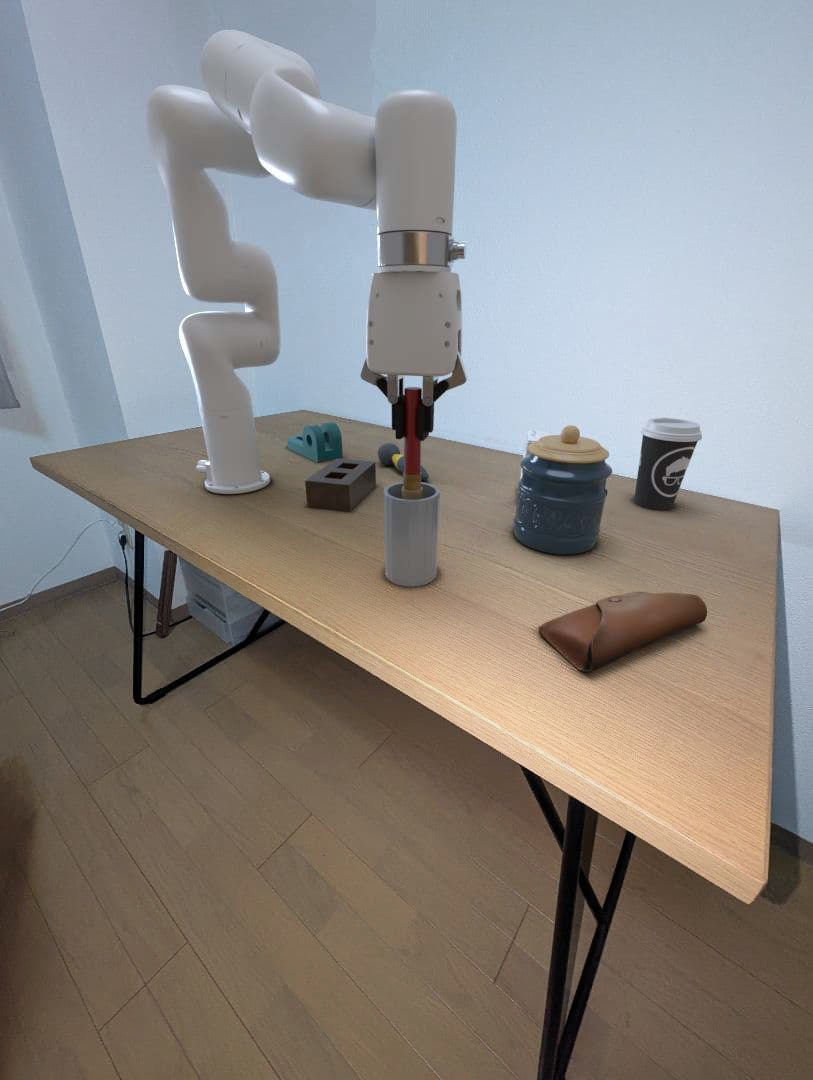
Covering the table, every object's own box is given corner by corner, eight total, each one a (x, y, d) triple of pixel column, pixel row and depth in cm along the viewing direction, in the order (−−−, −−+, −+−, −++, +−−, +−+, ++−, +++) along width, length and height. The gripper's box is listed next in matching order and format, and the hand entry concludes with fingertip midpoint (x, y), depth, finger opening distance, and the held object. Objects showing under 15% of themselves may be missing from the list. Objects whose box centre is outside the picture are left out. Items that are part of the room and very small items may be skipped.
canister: (526, 514, 83) (539, 413, 75) (604, 531, 77) (627, 422, 69) (500, 543, 73) (512, 429, 65) (587, 564, 67) (612, 441, 59)
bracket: (342, 457, 113) (340, 424, 110) (317, 462, 109) (315, 428, 106) (307, 442, 126) (304, 412, 122) (283, 446, 122) (280, 415, 118)
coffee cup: (680, 499, 90) (702, 419, 83) (683, 517, 82) (708, 431, 75) (626, 491, 93) (643, 414, 87) (624, 508, 86) (642, 425, 79)
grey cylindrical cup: (378, 582, 62) (376, 497, 57) (393, 558, 68) (393, 479, 63) (430, 590, 61) (433, 503, 55) (440, 564, 67) (444, 484, 61)
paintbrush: (441, 479, 99) (441, 456, 97) (422, 484, 96) (423, 461, 94) (386, 458, 113) (385, 437, 111) (368, 462, 110) (368, 441, 108)
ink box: (545, 506, 86) (555, 442, 81) (517, 504, 87) (525, 440, 82) (544, 490, 94) (552, 431, 88) (518, 488, 95) (525, 429, 89)
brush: (399, 519, 60) (399, 389, 53) (404, 512, 62) (405, 386, 55) (419, 522, 59) (421, 390, 52) (423, 514, 62) (426, 387, 54)
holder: (307, 506, 86) (304, 480, 83) (337, 481, 98) (336, 458, 96) (350, 511, 84) (349, 485, 81) (376, 485, 96) (375, 461, 94)
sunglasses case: (640, 588, 60) (677, 560, 55) (676, 637, 57) (719, 613, 52) (532, 628, 53) (562, 600, 47) (566, 687, 49) (603, 665, 44)
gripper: (496, 259, 49) (483, 434, 57) (354, 262, 53) (360, 426, 61) (488, 252, 43) (474, 450, 51) (327, 256, 46) (338, 440, 55)
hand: (412, 436), depth 56 cm, fingers closed on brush, 2 cm apart
